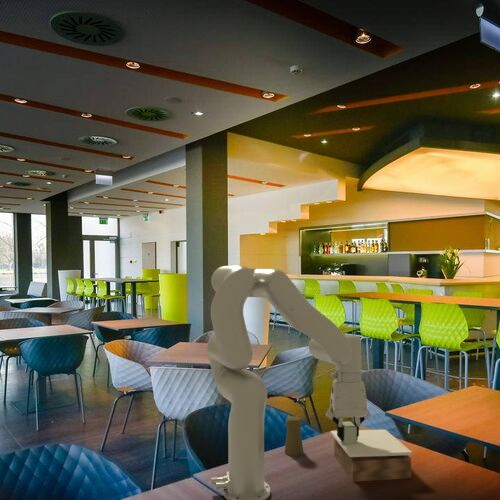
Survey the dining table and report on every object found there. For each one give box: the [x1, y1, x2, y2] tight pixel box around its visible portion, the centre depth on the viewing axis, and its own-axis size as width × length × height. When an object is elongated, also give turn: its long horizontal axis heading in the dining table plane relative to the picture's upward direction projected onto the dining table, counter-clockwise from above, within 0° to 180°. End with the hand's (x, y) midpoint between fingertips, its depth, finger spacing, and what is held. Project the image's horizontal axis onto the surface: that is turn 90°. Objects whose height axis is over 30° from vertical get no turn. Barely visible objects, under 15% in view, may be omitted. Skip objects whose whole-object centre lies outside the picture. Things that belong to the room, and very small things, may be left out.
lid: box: [330, 421, 413, 457], centre depth 134 cm, size 18×18×6 cm
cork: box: [284, 415, 304, 457], centre depth 144 cm, size 6×6×11 cm
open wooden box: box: [333, 437, 412, 483], centre depth 134 cm, size 17×17×6 cm
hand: (347, 438), depth 133 cm, fingers closed on lid, 3 cm apart
